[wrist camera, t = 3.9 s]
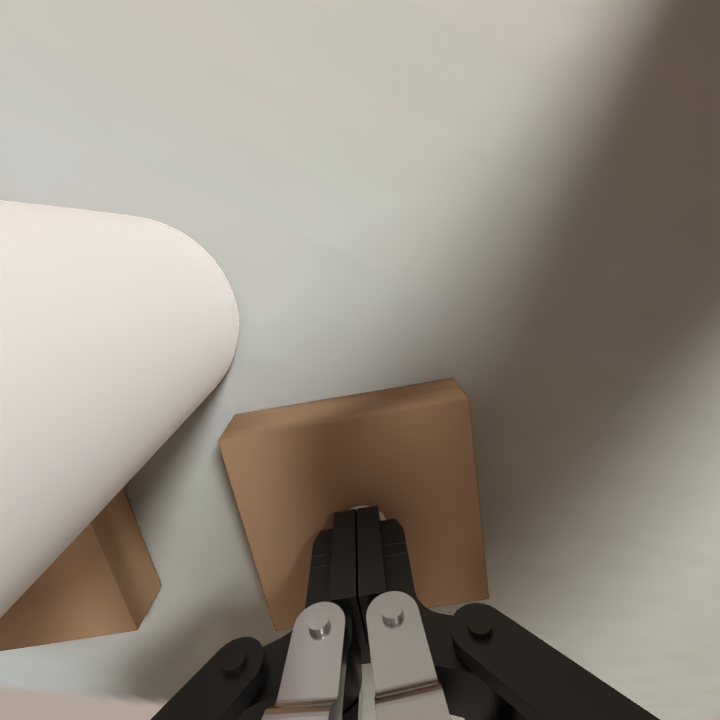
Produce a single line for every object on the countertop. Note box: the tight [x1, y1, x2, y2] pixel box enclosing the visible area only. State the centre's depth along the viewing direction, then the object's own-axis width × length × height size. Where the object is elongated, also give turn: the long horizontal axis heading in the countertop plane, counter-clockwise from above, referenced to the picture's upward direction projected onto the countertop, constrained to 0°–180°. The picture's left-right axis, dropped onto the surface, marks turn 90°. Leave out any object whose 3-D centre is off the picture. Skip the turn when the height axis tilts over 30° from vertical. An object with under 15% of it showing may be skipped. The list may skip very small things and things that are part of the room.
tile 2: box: [0, 488, 162, 651], centre depth 15 cm, size 8×8×2 cm
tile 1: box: [218, 378, 489, 631], centre depth 15 cm, size 8×8×2 cm
